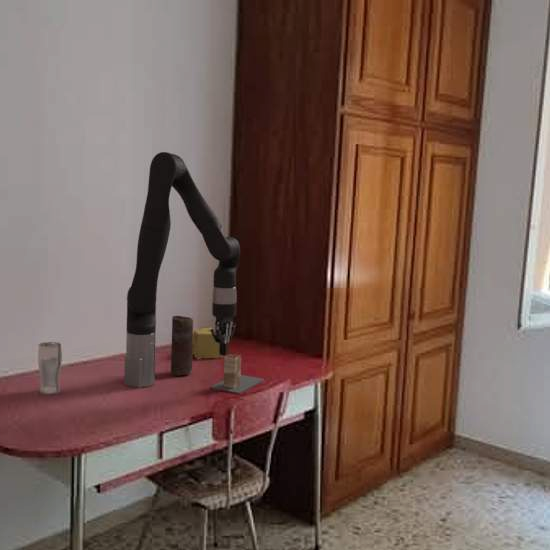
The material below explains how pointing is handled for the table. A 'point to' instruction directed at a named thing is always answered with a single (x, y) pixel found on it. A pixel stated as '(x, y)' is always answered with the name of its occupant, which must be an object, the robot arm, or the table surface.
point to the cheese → (205, 344)
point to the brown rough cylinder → (181, 345)
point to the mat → (245, 384)
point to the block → (232, 370)
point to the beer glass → (49, 366)
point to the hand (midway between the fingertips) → (223, 354)
